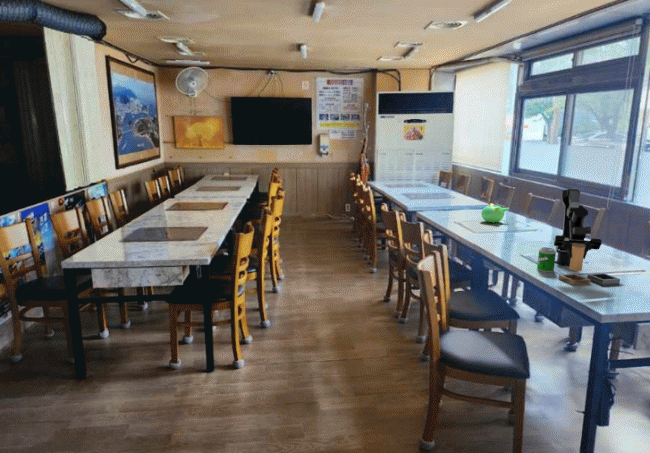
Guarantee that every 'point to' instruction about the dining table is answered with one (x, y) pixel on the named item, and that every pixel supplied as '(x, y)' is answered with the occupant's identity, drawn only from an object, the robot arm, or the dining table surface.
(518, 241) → the dining table surface
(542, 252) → the soda can
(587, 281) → the stand
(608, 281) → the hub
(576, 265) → the wooden dowel rod
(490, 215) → the toy bird
